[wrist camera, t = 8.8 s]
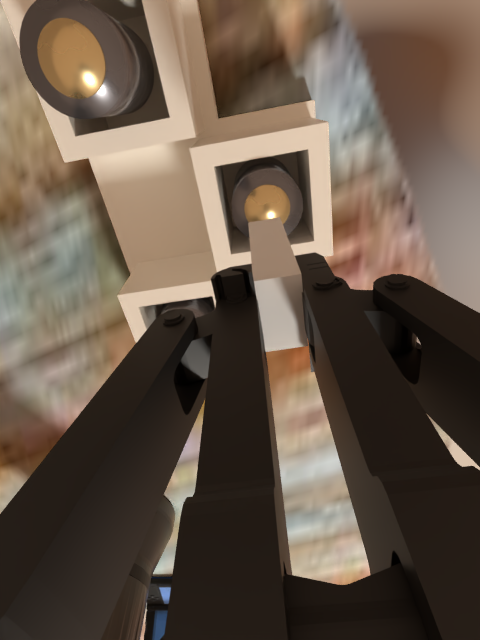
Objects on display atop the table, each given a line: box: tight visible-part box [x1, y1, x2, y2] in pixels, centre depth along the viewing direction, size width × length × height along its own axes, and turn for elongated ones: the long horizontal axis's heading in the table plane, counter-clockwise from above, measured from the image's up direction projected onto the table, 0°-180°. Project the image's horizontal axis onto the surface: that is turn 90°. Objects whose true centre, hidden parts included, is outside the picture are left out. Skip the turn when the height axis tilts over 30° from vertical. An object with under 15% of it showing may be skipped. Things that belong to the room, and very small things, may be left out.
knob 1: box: [19, 0, 154, 119], centre depth 18 cm, size 4×4×6 cm
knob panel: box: [0, 0, 333, 343], centre depth 26 cm, size 17×27×7 cm, turn 10°
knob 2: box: [161, 296, 215, 318], centre depth 30 cm, size 4×4×6 cm
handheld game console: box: [144, 577, 172, 640], centre depth 64 cm, size 16×13×9 cm
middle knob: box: [231, 157, 303, 238], centre depth 24 cm, size 4×4×6 cm
